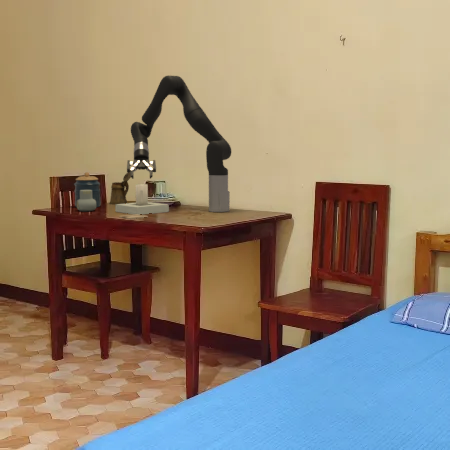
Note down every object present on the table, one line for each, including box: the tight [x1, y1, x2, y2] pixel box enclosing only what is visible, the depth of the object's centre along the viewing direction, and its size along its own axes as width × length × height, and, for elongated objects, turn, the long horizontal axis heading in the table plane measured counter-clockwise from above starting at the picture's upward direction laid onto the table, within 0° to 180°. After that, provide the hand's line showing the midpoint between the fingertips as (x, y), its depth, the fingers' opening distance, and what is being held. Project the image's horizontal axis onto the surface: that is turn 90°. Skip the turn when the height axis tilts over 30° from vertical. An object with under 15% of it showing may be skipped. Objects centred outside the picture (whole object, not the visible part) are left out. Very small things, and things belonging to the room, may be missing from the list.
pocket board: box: [114, 201, 170, 215], centre depth 294 cm, size 18×18×4 cm
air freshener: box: [76, 190, 97, 212], centre depth 298 cm, size 11×8×10 cm
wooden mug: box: [109, 172, 132, 205], centre depth 331 cm, size 9×14×18 cm, turn 63°
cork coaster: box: [118, 214, 149, 220], centre depth 273 cm, size 9×9×1 cm
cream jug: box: [135, 183, 149, 206], centre depth 292 cm, size 8×6×13 cm
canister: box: [73, 171, 102, 208], centre depth 316 cm, size 13×13×18 cm
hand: (141, 177), depth 301 cm, fingers open, 8 cm apart
